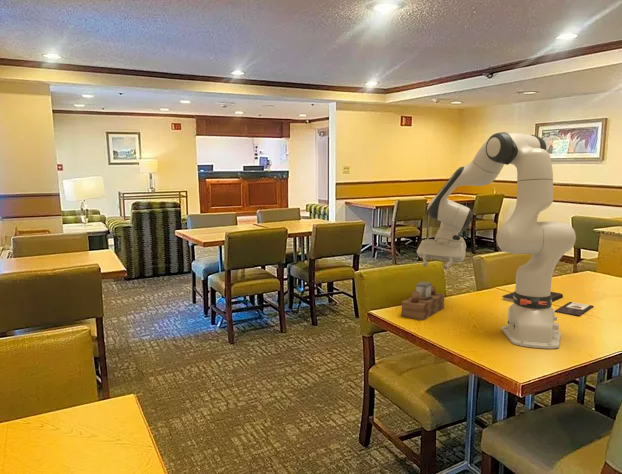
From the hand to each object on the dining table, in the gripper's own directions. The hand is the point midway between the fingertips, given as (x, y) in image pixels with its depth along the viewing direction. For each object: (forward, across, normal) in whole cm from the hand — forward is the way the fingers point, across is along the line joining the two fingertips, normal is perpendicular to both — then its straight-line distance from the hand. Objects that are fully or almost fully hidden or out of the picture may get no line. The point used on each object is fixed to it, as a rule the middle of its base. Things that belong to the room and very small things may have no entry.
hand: (435, 266), depth 196 cm
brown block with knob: (+19, 0, +5) cm, 20 cm away
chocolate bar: (-8, +47, +33) cm, 58 cm away
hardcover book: (-13, +30, +38) cm, 50 cm away
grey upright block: (+17, 0, +2) cm, 17 cm away
